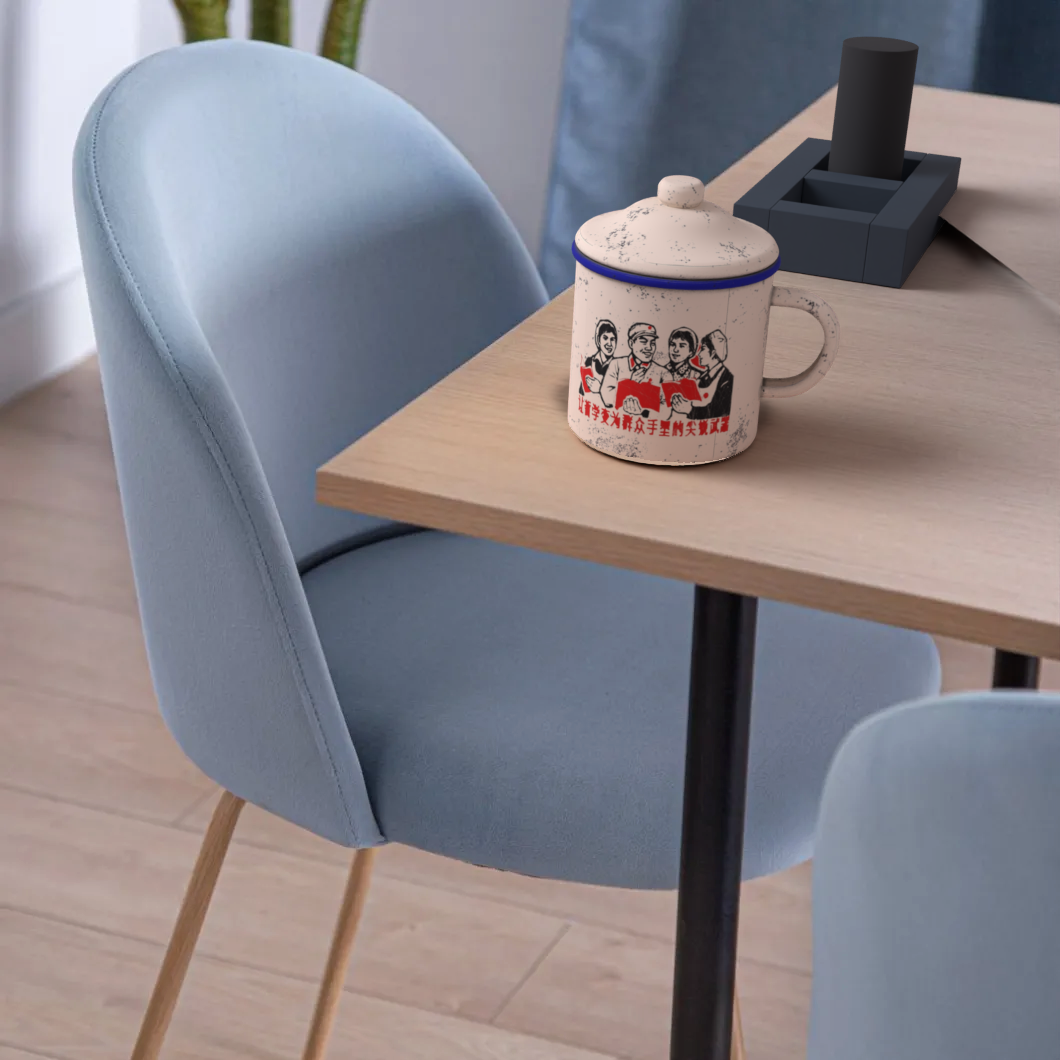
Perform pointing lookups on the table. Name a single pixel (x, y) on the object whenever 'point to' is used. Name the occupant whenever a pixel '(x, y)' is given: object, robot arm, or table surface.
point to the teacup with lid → (679, 328)
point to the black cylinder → (873, 107)
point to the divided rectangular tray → (851, 214)
